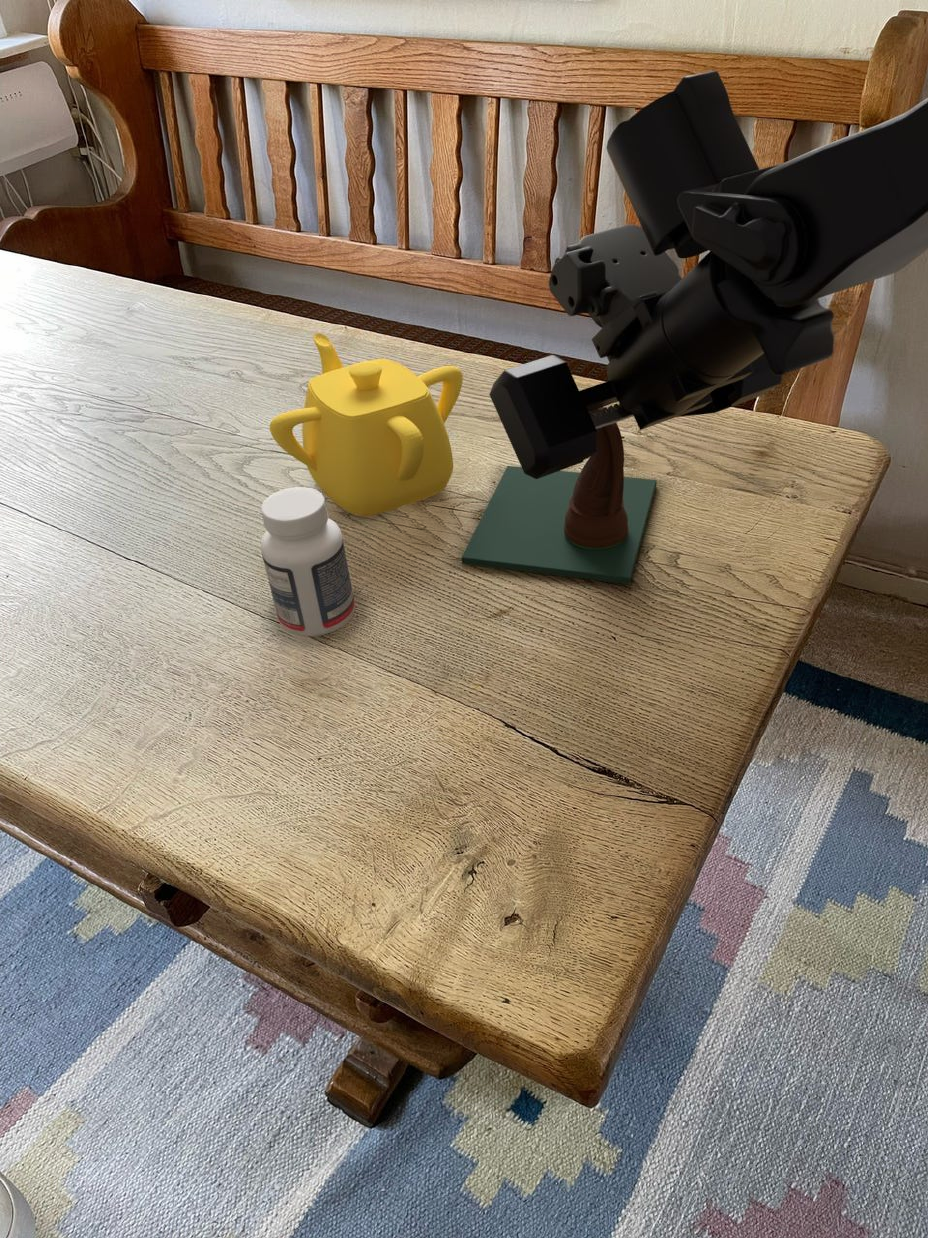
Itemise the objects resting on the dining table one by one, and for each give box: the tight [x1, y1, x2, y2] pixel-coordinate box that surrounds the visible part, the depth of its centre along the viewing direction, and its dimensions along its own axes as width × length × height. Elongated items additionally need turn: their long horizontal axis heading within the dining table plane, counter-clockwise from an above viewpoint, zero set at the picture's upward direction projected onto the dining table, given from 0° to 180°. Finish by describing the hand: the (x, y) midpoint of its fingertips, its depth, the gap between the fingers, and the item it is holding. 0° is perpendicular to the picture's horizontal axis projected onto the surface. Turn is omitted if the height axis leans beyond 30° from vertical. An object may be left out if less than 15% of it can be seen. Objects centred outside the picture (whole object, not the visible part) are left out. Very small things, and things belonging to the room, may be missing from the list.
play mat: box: [460, 465, 658, 585], centre depth 72 cm, size 12×13×1 cm
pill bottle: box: [260, 486, 356, 638], centre depth 62 cm, size 5×5×9 cm
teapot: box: [269, 332, 464, 517], centre depth 75 cm, size 14×13×10 cm
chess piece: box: [564, 406, 628, 550], centre depth 66 cm, size 5×5×10 cm
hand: (584, 432), depth 66 cm, fingers open, 9 cm apart
